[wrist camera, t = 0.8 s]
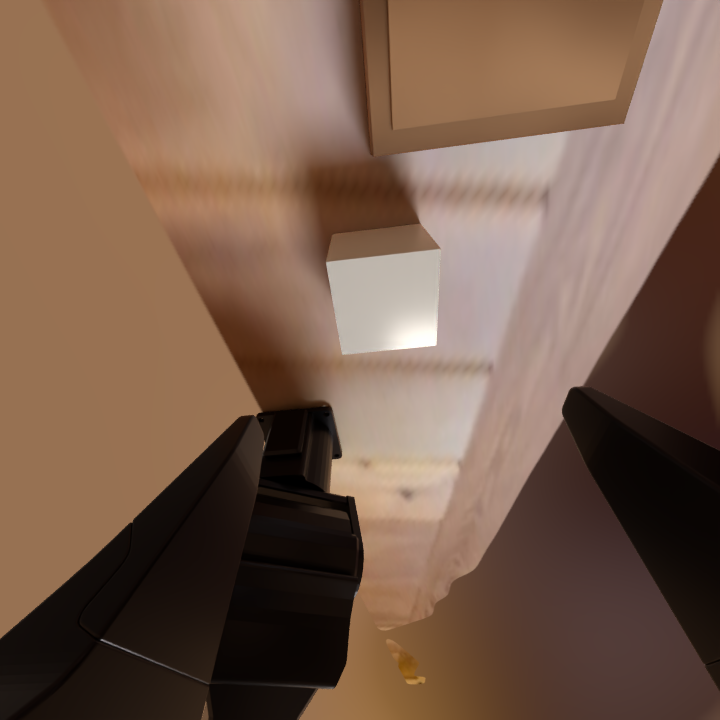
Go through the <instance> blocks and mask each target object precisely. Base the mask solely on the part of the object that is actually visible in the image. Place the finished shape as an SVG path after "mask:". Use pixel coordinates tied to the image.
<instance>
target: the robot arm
mask: <svg viewBox="0 0 720 720" xmlns="http://www.w3.org/2000/svg"><path fill="white" fill-rule="evenodd" d="M325 412H327V413H325ZM562 414H563V417H564V419H565V422H566V424H567V426H568V428H569V430H570V433H571V435H572V437H573V439H574V441H575V443H576V446H577V448H578V450H579V452H580V454H581V456H582V458H583V460H584V462H585V464H586V466H587V468H588V470H589V472H590V473H591V475H592V477H593V478H594V480H595V482H596V484H597V485H598V487H599V489H600V490H601V492H602V494H603V495H604V497H605V499H606V500H607V502H608V504H609V506H610V507H611V509H612V511H613V512H614V514H615V515H616V517H617V519H618V521H619V522H620V524H621V526H622V527H623V529H624V531H625V532H626V534H627V536H628V538H629V539H630V541H631V542H632V544H633V546H634V548H635V549H636V551H637V553H638V554H639V556H640V558H641V559H642V561H643V563H644V564H645V566H646V568H647V569H648V571H649V573H650V575H651V576H652V578H653V580H654V581H655V583H656V584H657V586H658V588H659V590H660V591H661V593H662V595H663V596H664V598H665V600H666V601H667V603H668V605H669V607H670V608H671V610H672V612H673V613H674V615H675V617H676V618H677V620H678V622H679V623H680V625H681V626H682V628H683V630H684V632H685V633H686V635H687V637H688V639H689V640H690V642H691V644H692V645H693V647H694V649H695V650H696V652H697V654H698V655H699V657H700V659H701V660H702V662H703V663H704V664H705V668H706V669H707V671H708V673H709V674H710V676H711V678H712V679H713V681H714V683H715V685H716V686H717V688H718V690H719V691H720V451H719V450H717V449H715V448H713V447H711V446H709V445H707V444H705V443H703V442H701V441H699V440H697V439H695V438H693V437H691V436H689V435H687V434H685V433H683V432H681V431H679V430H677V429H675V428H673V427H671V426H669V425H667V424H665V423H663V422H661V421H659V420H657V419H655V418H652V417H651V416H648V415H646V414H644V413H642V412H640V411H638V410H636V409H634V408H632V407H630V406H628V405H626V404H624V403H622V402H620V401H618V400H616V399H614V398H612V397H610V396H608V395H606V394H604V393H602V392H600V391H598V390H596V389H594V388H592V387H589V386H580V387H573V388H571V389H570V390H569V392H568V395H567V397H566V400H565V402H564V405H563V407H562ZM261 418H262V419H261ZM264 441H265V446H264V450H263V445H264ZM341 457H342V449H341V445H340V441H339V436H338V432H337V428H336V423H335V419H334V415H333V410H332V409H331V408H330V407H318V408H307V409H296V410H285V411H274V412H263V413H258V414H257V416H256V417H255V416H254V415H248V416H241V417H239V418H238V419H237V420H236V421H235V422H234V423H233V424H232V425H231V426H230V427H229V428H228V429H226V431H224V432H223V433H222V434H221V435H220V436H219V437H218V438H217V439H216V440H215V441H214V442H213V443H212V444H211V445H210V446H209V447H208V448H207V449H206V450H205V451H204V452H203V453H202V454H201V455H200V456H199V457H198V458H196V459H195V460H194V462H193V463H192V464H190V465H189V466H188V467H187V468H186V469H185V470H184V471H183V472H182V473H181V474H180V475H179V476H178V477H177V478H176V479H175V480H174V481H173V482H172V483H171V484H170V485H169V486H168V487H166V488H165V490H163V491H162V492H161V493H160V494H159V495H158V496H157V497H156V498H155V499H154V500H153V501H152V502H151V503H150V504H149V505H148V506H147V507H146V508H145V509H144V510H143V511H142V512H141V513H140V514H139V515H138V516H137V517H135V518H134V520H133V523H129V524H128V525H127V526H126V527H125V528H124V529H123V530H122V531H121V532H120V533H119V534H118V535H117V536H116V537H115V538H114V539H113V540H111V541H110V542H109V543H108V544H107V545H106V546H105V547H104V548H103V549H102V550H101V551H100V552H99V553H98V554H97V555H96V556H94V557H93V559H91V560H90V561H89V562H88V563H87V564H86V565H84V566H83V567H82V568H81V569H80V570H79V571H78V572H77V573H75V574H74V575H73V576H72V577H71V578H70V579H69V580H68V581H66V582H65V583H64V584H63V585H62V586H61V587H60V588H58V589H57V590H56V591H55V592H54V593H53V594H51V595H50V596H49V597H48V598H47V599H46V600H44V602H42V603H41V604H40V605H39V606H38V607H36V608H35V609H34V610H33V611H32V612H31V613H29V614H28V615H27V616H26V617H25V618H24V619H22V620H21V621H20V622H19V623H18V624H17V625H16V626H14V627H13V628H12V629H11V630H10V631H9V632H8V633H6V634H5V635H4V636H3V637H2V638H1V639H0V720H201V718H202V720H299V718H300V717H301V715H302V714H303V712H304V711H305V709H306V707H307V706H308V704H309V703H310V701H311V699H312V698H313V696H314V695H315V693H316V691H317V690H318V688H321V689H334V688H335V687H336V685H337V683H338V681H339V679H340V676H341V674H342V672H343V670H344V667H345V665H346V661H347V651H348V638H349V626H350V618H351V612H352V606H353V600H354V598H355V596H356V594H357V592H358V589H359V586H360V582H361V578H362V572H363V562H364V550H363V542H362V537H361V532H360V526H359V521H358V515H357V510H356V505H355V499H354V497H351V496H346V497H345V496H340V495H336V494H331V493H330V480H331V466H332V459H339V458H341ZM205 702H207V703H206V706H205ZM204 706H205V709H204ZM203 710H204V713H203ZM202 714H203V717H202Z"/></svg>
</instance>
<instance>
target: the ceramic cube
mask: <svg viewBox="0 0 720 720" xmlns="http://www.w3.org/2000/svg"><path fill="white" fill-rule="evenodd" d="M440 256H441V248H440V247H439V246H438V245H437V243H436V242H435V241H434V240H433V238H432V237H431V236H430V235H429V233H428V232H427V231H426V230H425V229H424V227H423V226H422V225H421V224H412V225H404V226H396V227H387V228H379V229H371V230H362V231H354V232H346V233H337V234H332V238H331V242H330V247H329V251H328V255H327V259H326V266H327V271H328V277H329V283H330V288H331V294H332V300H333V305H334V311H335V317H336V322H337V328H338V334H339V339H340V345H341V351H342V355H345V354H356V353H366V352H376V351H386V350H396V349H406V348H416V347H427V346H436V339H437V319H438V298H439V277H440Z"/></svg>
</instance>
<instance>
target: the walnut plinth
mask: <svg viewBox="0 0 720 720" xmlns="http://www.w3.org/2000/svg"><path fill="white" fill-rule="evenodd" d="M359 3H360V16H361V30H362V43H363V57H364V71H365V84H366V98H367V111H368V125H369V138H370V152H371V155H372V156H373V157H376V156H384V155H391V154H399V153H406V152H414V151H421V150H429V149H436V148H444V147H451V146H459V145H466V144H474V143H481V142H489V141H496V140H504V139H511V138H519V137H526V136H534V135H541V134H549V133H556V132H564V131H571V130H579V129H586V128H594V127H601V126H609V125H616V124H624V121H625V118H626V115H627V112H628V109H629V106H630V103H631V100H632V96H633V93H634V90H635V87H636V84H637V81H638V78H639V75H640V72H641V68H642V65H643V62H644V59H645V56H646V53H647V50H648V47H649V43H650V40H651V37H652V34H653V31H654V28H655V25H656V22H657V19H658V15H659V12H660V9H661V6H662V3H663V0H359Z"/></svg>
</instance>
